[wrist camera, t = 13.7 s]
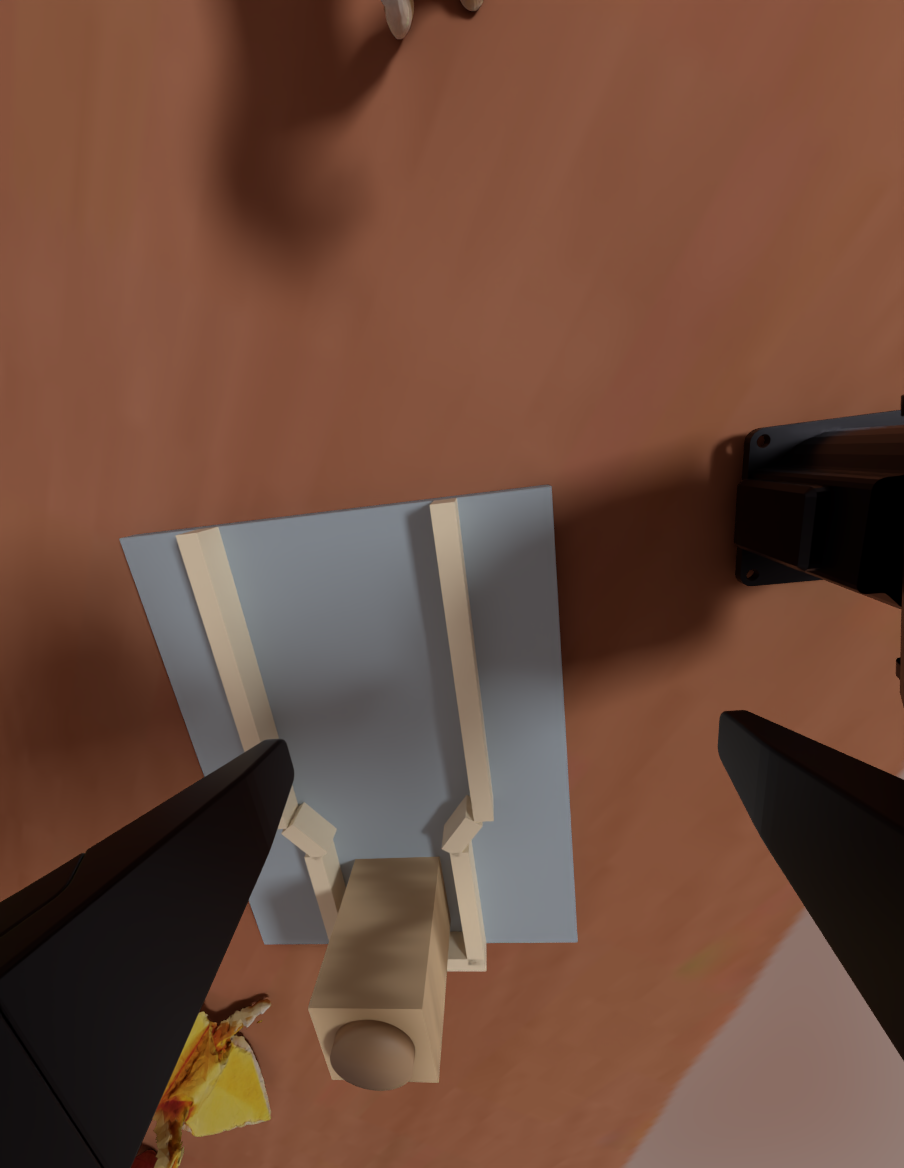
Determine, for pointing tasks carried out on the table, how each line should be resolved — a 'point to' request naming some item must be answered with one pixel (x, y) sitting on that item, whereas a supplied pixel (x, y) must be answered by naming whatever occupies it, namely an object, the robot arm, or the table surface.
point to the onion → (145, 1160)
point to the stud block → (385, 975)
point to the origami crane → (211, 1085)
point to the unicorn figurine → (411, 14)
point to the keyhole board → (384, 699)
